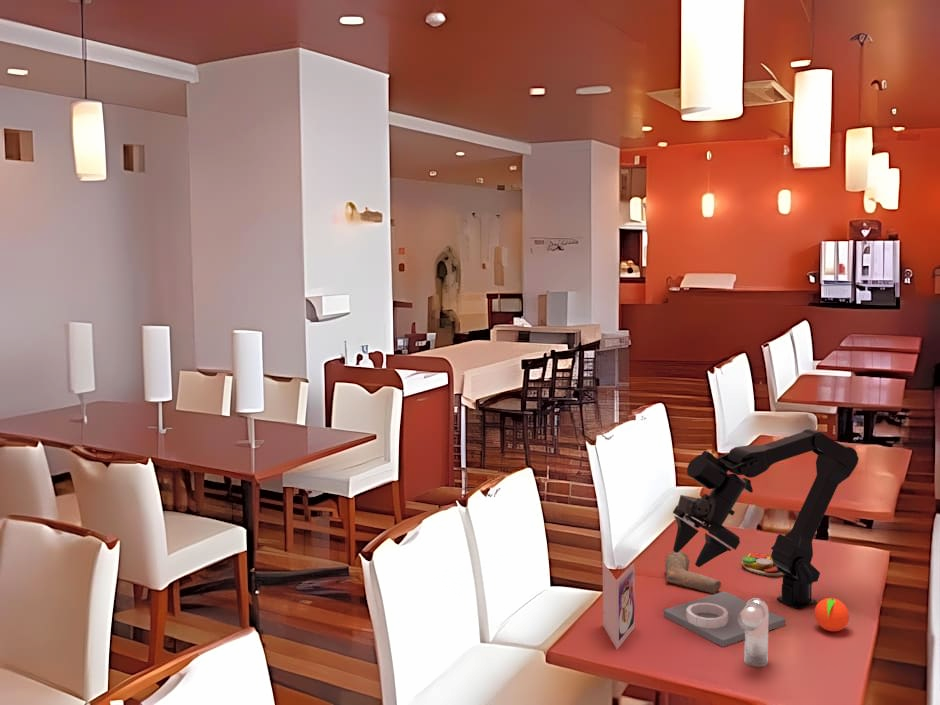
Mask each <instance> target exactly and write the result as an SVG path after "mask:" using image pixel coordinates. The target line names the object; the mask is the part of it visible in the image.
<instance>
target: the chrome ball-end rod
mask: <svg viewBox="0 0 940 705" xmlns="http://www.w3.org/2000/svg"><path fill="white" fill-rule="evenodd" d="M769 612H770V610H769V606H768V604H767V603H766V602H765V601H764V600H763V599H762V598H758V597H753V598H750V599H749V600H747V603H746V605H745V608H744V609H743V610H742V611H741V612H740V614H739V615H738V623H739V625H740V626H741V627H742V628H743V629H745V640H743V641H744V643H743V644H744V654H743V656H744V658H743V660H744V661H743V662H744V663H745V664H746V665H748V666H751V667H754V668H764V667H766V666H768V664H769V663H768V662H769V660H768V659H769V658H768V657H769V653H768V652H769V631H768V618H769Z"/></svg>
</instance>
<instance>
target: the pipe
mask: <svg viewBox="0 0 940 705" xmlns="http://www.w3.org/2000/svg"><path fill="white" fill-rule="evenodd" d="M664 561H665V562H664V563H665V564H664V565H665V573H666V574H665V575H666V576H665V580H666V582H668V583H671V584H675V585H679V586H683V587H685V588H688V587H689V588H688V589H693V588H694V589H693V590H697V591H701V592H704V591H705V593H708V592H709V593H708V594H713V593H714V594H716V593H717V592H718V591H719V590H720V589H721V587H722V582H721V581H720V580H718V579H716V578H712V577H709V576H706V575H704V574H700V573H696V572H693V571H690V570H689V567H690V558H689V556H688V555H687V554H686V553H685V552H684V551H681V550H680V551H679V552H678V553H676V552H674V551H673V550H672V551H671V552H669V553H668V554H667V555H666V559H665V560H664ZM716 591H717V592H716ZM715 592H716V593H715Z"/></svg>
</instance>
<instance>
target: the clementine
mask: <svg viewBox="0 0 940 705" xmlns="http://www.w3.org/2000/svg"><path fill="white" fill-rule="evenodd" d="M849 614H850V613H849V608H847V606H846V605H845V603H844V602H842V601H841V600H840V599H837V598H834V597H826V598H823V599H822V600H820V601H819V602H818V603H816V605H815V608H814V618H815V620H816V622H817V623H818V625H819V626H820V627H821V628H823V629H824V630H825V631H829V632H839V631H841V630H843V629H845V628H846V627H847V625H848V623H849V620H850V615H849Z"/></svg>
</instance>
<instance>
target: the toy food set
mask: <svg viewBox="0 0 940 705" xmlns="http://www.w3.org/2000/svg"><path fill="white" fill-rule="evenodd" d="M741 564H742V566H743V568H745V569H746V570H747V571H748V570H749V572H750V571H751V572H750V573H752V572H754V573H753V574H755V573H757V574H756V575H759V574H761V575H760V576H764V575H766V577H783V576H784V574H783V573H781V572H779V571H778V570H777V567H776V565H775V564H774V563H773V560H772V558H771V555H770V554H769V553H767V554H766V553H765V554H764V553H763V552H756V551H751V552H750V553H748V555H747V556H743V557H742V558H741ZM782 575H783V576H782Z"/></svg>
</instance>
